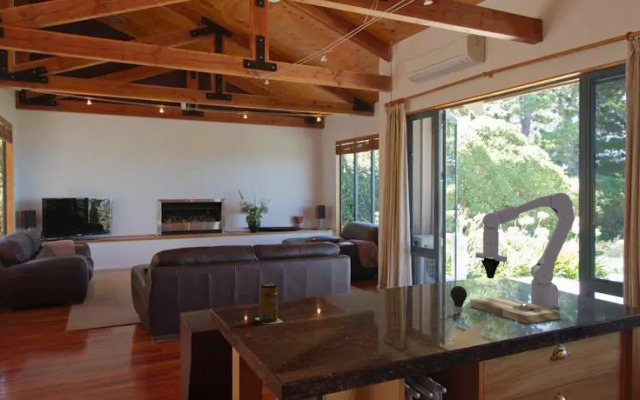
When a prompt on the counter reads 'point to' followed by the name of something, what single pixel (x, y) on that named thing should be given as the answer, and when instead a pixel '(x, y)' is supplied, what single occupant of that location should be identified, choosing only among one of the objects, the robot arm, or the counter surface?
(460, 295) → the light bulb
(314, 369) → the counter surface
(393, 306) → the counter surface
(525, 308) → the ball
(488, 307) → the deck
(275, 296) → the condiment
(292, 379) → the counter surface
